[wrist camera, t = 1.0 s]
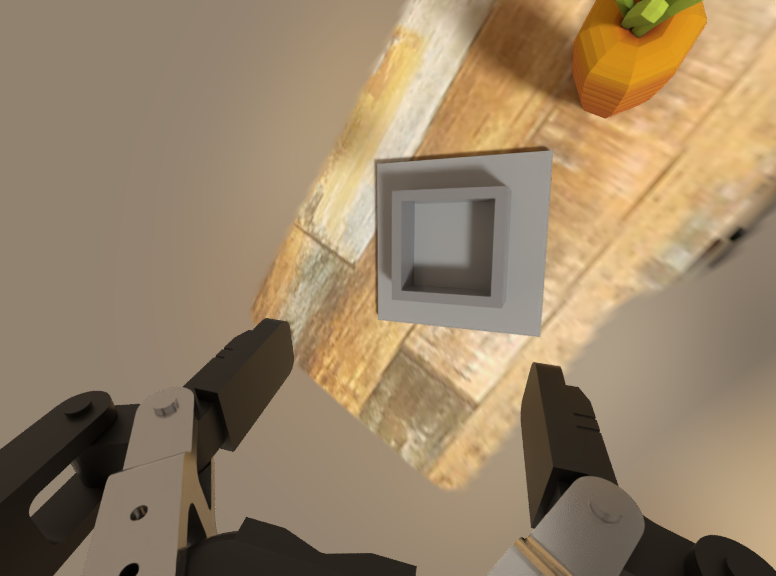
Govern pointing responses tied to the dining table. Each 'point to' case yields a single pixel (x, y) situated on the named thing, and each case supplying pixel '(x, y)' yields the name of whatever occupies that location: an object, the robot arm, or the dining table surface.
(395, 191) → the sleeve stand
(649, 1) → the carrot
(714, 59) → the dining table surface
